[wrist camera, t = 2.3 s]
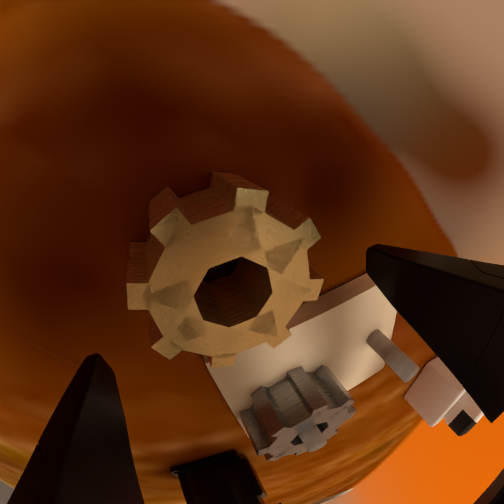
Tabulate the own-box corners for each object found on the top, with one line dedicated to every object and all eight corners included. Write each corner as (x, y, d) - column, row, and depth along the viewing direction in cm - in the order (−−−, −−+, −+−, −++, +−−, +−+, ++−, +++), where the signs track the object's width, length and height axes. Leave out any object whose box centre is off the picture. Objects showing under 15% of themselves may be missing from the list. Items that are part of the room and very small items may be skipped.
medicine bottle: (427, 381, 33) (471, 426, 23) (401, 397, 31) (449, 450, 21) (449, 348, 31) (499, 393, 21) (426, 361, 28) (483, 417, 18)
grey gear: (261, 434, 17) (277, 466, 14) (224, 404, 14) (242, 447, 11) (335, 392, 18) (357, 420, 15) (323, 348, 14) (353, 385, 12)
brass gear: (167, 336, 12) (177, 385, 9) (107, 207, 9) (92, 239, 6) (292, 287, 13) (325, 324, 11) (270, 155, 10) (313, 166, 8)
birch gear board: (243, 426, 18) (270, 481, 13) (199, 346, 13) (232, 435, 8) (374, 359, 20) (412, 398, 16) (390, 260, 15) (453, 304, 11)
